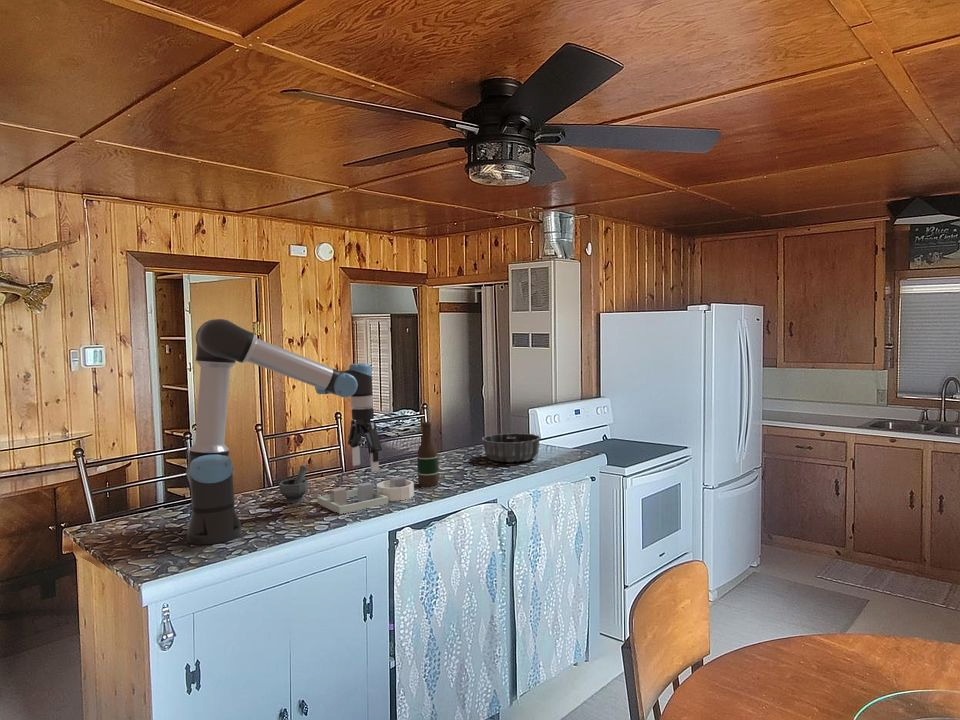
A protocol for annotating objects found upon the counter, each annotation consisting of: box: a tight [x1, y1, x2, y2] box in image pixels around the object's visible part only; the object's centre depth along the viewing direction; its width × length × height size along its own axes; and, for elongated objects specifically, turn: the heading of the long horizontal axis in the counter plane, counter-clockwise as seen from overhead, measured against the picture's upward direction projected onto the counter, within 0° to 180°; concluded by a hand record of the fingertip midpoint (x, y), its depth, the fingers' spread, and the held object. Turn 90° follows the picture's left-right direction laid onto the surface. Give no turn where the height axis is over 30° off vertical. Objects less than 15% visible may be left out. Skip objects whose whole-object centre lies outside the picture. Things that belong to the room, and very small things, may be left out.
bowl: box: [376, 479, 415, 502], centre depth 233 cm, size 13×13×4 cm
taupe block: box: [329, 486, 348, 506], centre depth 222 cm, size 4×3×6 cm
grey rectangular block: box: [389, 476, 407, 488], centre depth 232 cm, size 4×3×6 cm
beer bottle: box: [416, 421, 439, 487], centre depth 249 cm, size 8×8×24 cm
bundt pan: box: [481, 432, 541, 463], centre depth 292 cm, size 26×26×10 cm
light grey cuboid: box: [356, 482, 375, 502], centre depth 228 cm, size 4×3×6 cm
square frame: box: [316, 488, 389, 515], centre depth 225 cm, size 18×18×2 cm
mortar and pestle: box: [278, 464, 309, 504], centre depth 231 cm, size 11×9×12 cm
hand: (365, 468), depth 228 cm, fingers open, 13 cm apart
